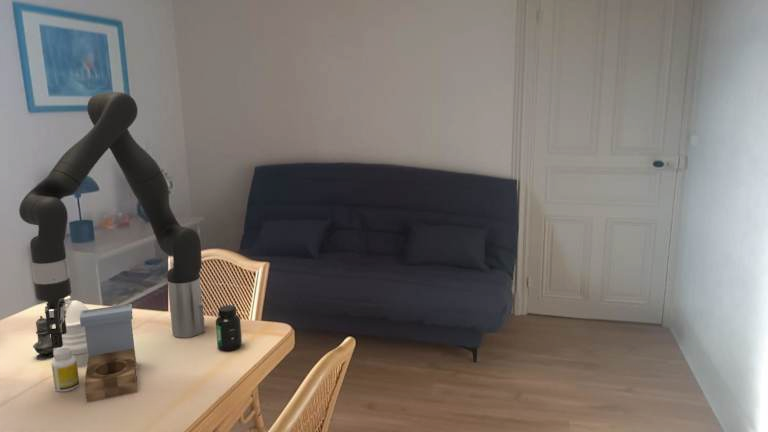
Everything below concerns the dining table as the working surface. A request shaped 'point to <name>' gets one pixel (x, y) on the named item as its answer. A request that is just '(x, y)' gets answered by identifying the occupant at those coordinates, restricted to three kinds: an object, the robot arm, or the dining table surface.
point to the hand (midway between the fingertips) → (59, 340)
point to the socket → (110, 375)
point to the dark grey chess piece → (43, 341)
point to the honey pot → (75, 332)
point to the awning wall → (108, 329)
